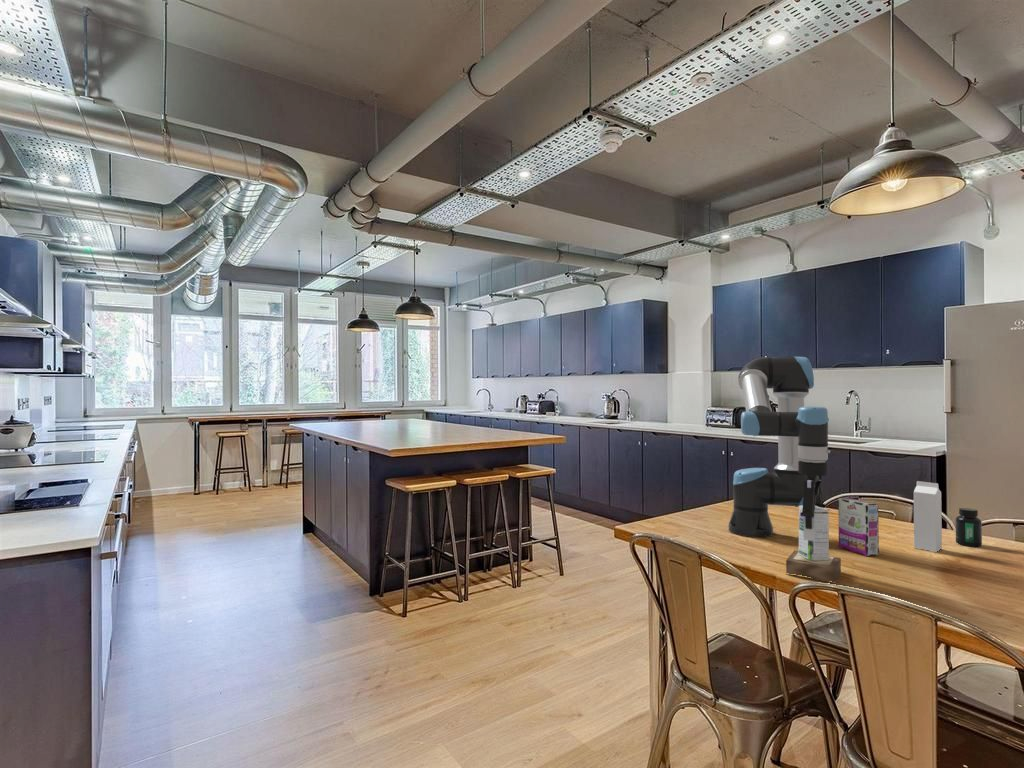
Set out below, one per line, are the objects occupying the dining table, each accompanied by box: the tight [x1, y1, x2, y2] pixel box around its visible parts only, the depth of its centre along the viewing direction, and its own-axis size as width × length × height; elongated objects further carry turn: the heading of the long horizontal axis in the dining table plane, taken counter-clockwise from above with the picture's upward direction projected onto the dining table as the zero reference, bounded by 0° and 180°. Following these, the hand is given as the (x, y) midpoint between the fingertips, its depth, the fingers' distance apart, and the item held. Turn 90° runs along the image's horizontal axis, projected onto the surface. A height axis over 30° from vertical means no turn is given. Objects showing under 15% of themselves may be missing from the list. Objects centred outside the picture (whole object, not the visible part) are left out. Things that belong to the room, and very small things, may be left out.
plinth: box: [785, 550, 842, 582], centre depth 155 cm, size 12×12×4 cm
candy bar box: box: [838, 497, 880, 557], centre depth 176 cm, size 11×5×16 cm, turn 14°
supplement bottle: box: [955, 507, 983, 548], centre depth 184 cm, size 7×7×12 cm
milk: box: [913, 480, 943, 553], centre depth 179 cm, size 6×6×22 cm
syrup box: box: [798, 505, 830, 561], centre depth 155 cm, size 6×6×14 cm
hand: (813, 534), depth 155 cm, fingers open, 13 cm apart
